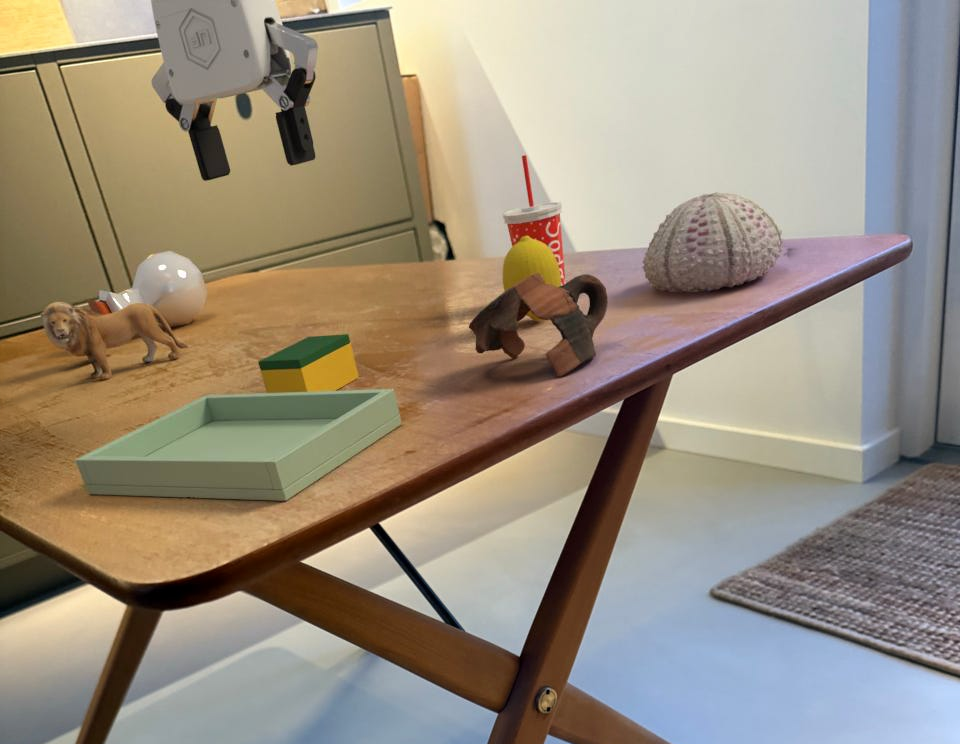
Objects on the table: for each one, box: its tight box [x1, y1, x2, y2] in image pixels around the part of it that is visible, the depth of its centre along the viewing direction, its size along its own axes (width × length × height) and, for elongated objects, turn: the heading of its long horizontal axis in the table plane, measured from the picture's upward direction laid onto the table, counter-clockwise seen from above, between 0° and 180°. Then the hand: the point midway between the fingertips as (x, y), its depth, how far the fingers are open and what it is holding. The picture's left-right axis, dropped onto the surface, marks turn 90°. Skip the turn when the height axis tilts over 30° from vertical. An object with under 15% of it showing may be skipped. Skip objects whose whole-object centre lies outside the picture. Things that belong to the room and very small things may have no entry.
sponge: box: [257, 333, 360, 393], centre depth 92 cm, size 5×8×4 cm, turn 151°
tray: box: [74, 388, 403, 502], centre depth 78 cm, size 20×15×3 cm
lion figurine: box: [40, 301, 189, 381], centre depth 116 cm, size 15×5×9 cm, turn 126°
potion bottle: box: [86, 250, 209, 329], centre depth 136 cm, size 9×10×15 cm
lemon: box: [502, 236, 561, 323], centre depth 99 cm, size 6×6×8 cm
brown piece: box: [468, 273, 609, 378], centre depth 86 cm, size 12×10×8 cm
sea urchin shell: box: [642, 191, 785, 293], centre depth 100 cm, size 13×14×8 cm
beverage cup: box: [502, 154, 567, 286], centre depth 107 cm, size 6×6×14 cm
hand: (258, 170), depth 88 cm, fingers open, 9 cm apart
